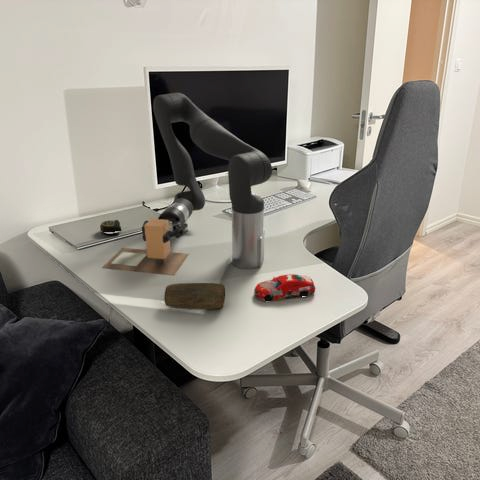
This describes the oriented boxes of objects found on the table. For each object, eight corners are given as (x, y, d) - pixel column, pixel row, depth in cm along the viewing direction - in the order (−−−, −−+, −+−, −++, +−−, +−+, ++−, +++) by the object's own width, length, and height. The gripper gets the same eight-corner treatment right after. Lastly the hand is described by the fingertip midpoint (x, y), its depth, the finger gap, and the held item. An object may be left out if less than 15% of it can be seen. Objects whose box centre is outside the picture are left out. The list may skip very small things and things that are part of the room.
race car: (257, 304, 118) (257, 287, 116) (251, 291, 124) (251, 275, 122) (317, 297, 120) (318, 281, 118) (309, 285, 126) (310, 269, 124)
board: (189, 258, 141) (188, 232, 138) (174, 280, 129) (172, 252, 125) (122, 251, 145) (119, 227, 142) (102, 272, 133) (98, 245, 129)
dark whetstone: (225, 299, 120) (225, 276, 117) (225, 314, 113) (224, 290, 110) (168, 299, 120) (166, 276, 117) (164, 314, 113) (162, 290, 110)
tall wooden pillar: (170, 251, 136) (168, 219, 132) (164, 258, 131) (161, 226, 127) (154, 249, 137) (151, 218, 133) (147, 257, 132) (144, 225, 128)
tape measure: (122, 235, 157) (121, 225, 156) (101, 238, 155) (100, 227, 154) (120, 228, 163) (119, 218, 162) (100, 230, 161) (99, 220, 160)
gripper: (151, 205, 144) (129, 225, 129) (195, 207, 142) (177, 228, 126) (153, 227, 147) (131, 249, 132) (196, 230, 145) (179, 253, 130)
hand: (154, 239), depth 129 cm, fingers closed on tall wooden pillar, 5 cm apart
